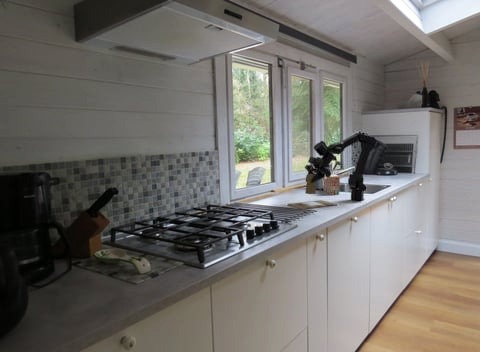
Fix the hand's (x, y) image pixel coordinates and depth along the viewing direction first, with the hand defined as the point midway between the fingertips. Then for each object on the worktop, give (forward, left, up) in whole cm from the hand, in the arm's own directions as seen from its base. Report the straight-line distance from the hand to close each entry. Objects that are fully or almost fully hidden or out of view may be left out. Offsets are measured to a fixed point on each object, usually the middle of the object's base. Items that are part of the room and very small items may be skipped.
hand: (308, 181), depth 209 cm
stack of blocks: (+9, -50, -14) cm, 52 cm away
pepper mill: (-1, -1, -7) cm, 7 cm away
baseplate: (-2, 0, -13) cm, 13 cm away
